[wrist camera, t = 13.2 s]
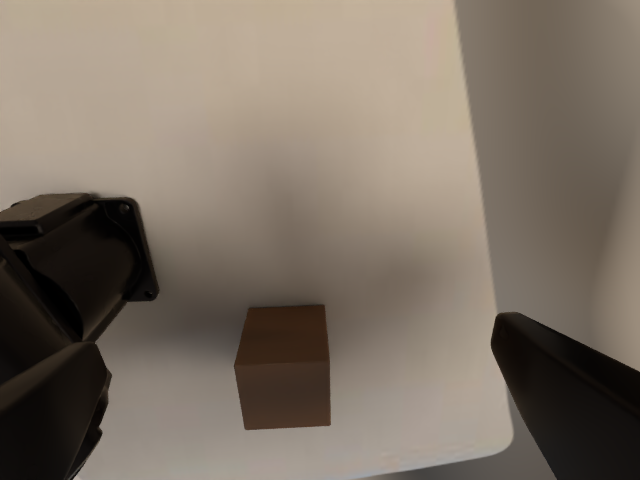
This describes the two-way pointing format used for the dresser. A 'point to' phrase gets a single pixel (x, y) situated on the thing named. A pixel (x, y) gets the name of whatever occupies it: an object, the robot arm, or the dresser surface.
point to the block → (284, 368)
